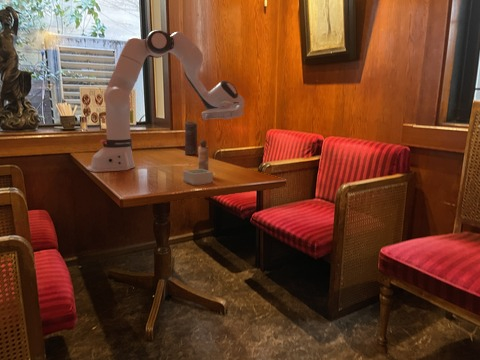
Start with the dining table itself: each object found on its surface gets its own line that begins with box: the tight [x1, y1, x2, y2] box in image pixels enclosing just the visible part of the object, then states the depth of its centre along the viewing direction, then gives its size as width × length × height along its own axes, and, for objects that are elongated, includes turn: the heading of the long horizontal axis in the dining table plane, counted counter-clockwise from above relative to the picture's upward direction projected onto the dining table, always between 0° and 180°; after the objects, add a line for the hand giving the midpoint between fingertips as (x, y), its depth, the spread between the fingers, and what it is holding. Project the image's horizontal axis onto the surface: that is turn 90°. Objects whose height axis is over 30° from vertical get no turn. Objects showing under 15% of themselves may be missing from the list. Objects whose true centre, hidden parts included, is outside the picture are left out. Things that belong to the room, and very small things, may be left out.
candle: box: [184, 121, 198, 156], centre depth 226 cm, size 8×7×20 cm
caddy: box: [182, 168, 214, 186], centre depth 154 cm, size 9×9×4 cm
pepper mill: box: [198, 139, 209, 171], centre depth 167 cm, size 4×4×16 cm
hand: (214, 117), depth 174 cm, fingers open, 8 cm apart
